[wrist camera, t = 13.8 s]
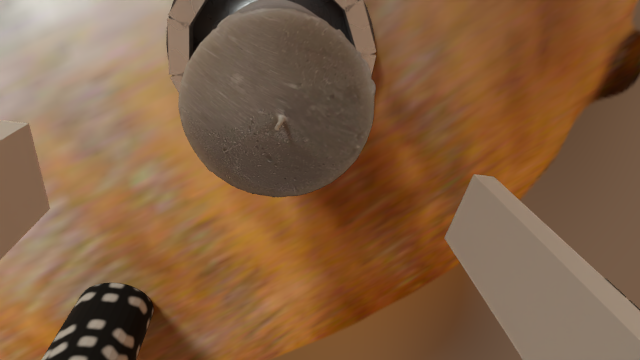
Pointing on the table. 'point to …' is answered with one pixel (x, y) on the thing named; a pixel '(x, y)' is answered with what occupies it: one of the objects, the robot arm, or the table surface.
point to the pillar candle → (277, 100)
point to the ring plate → (217, 3)
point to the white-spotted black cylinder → (104, 325)
